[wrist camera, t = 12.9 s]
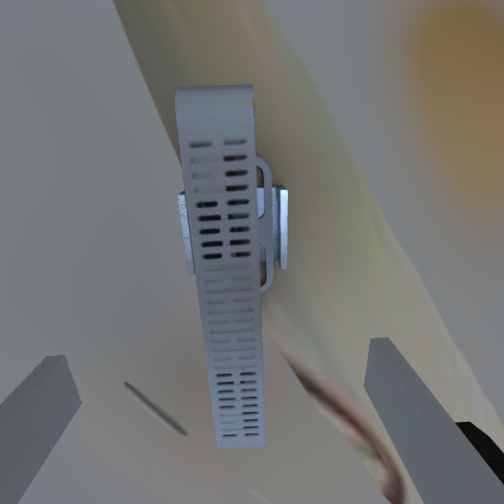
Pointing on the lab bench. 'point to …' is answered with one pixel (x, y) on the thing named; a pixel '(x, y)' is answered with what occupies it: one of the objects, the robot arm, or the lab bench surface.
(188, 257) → the bracket
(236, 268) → the network device
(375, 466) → the lab bench surface
